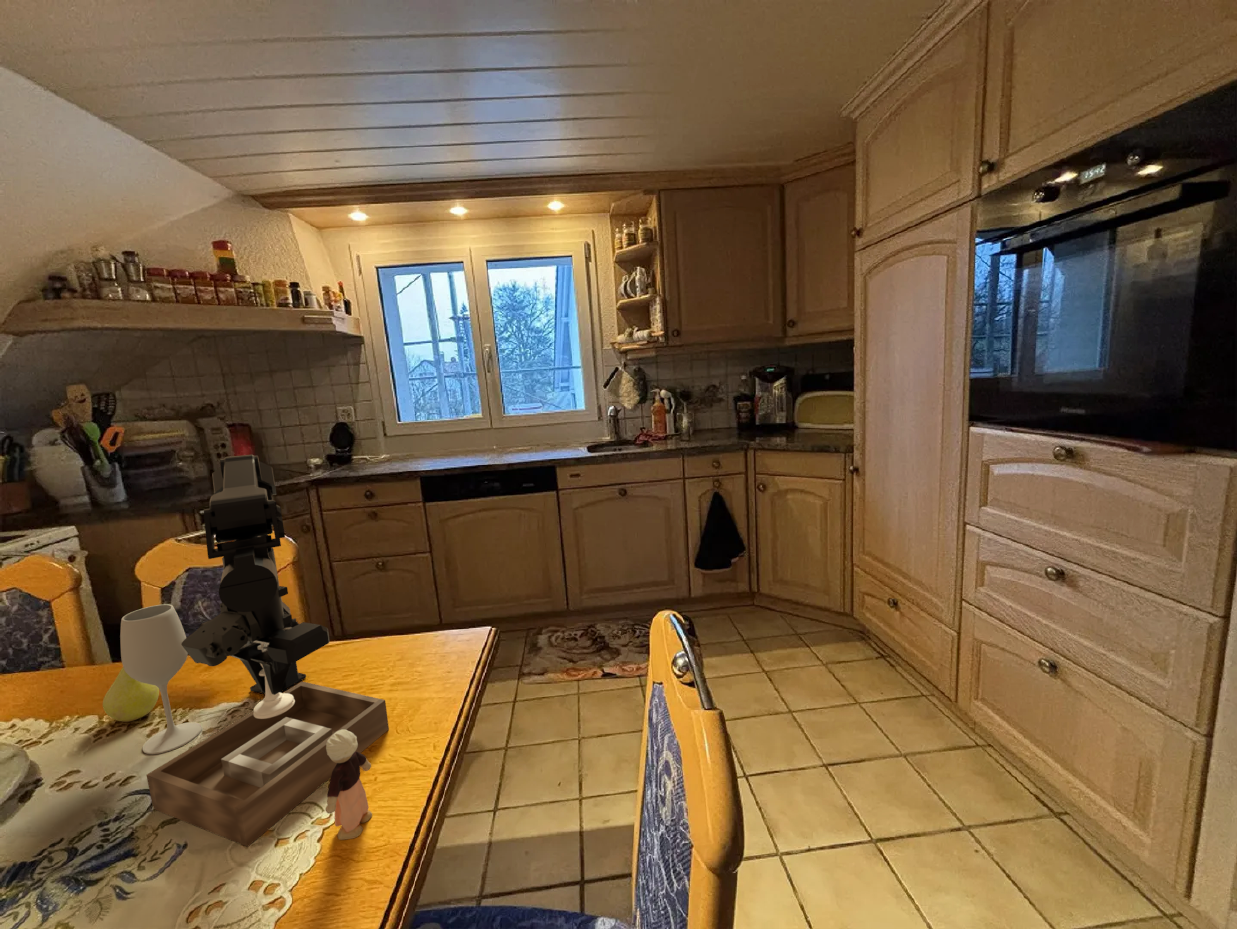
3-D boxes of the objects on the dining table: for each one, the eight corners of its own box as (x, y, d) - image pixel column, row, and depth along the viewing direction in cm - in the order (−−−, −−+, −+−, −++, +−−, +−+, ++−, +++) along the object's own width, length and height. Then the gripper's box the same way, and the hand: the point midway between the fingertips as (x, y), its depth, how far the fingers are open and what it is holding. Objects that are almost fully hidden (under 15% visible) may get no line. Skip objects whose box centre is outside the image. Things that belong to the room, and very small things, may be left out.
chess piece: (274, 720, 71) (262, 651, 69) (244, 717, 72) (231, 650, 70) (303, 698, 76) (292, 634, 74) (274, 696, 77) (263, 632, 75)
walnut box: (153, 809, 68) (146, 774, 67) (306, 708, 88) (301, 681, 88) (247, 846, 62) (240, 809, 61) (388, 729, 82) (385, 700, 81)
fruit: (99, 725, 87) (83, 658, 85) (152, 699, 94) (138, 636, 92) (123, 733, 84) (108, 664, 82) (176, 705, 91) (163, 641, 89)
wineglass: (151, 761, 77) (123, 628, 74) (133, 744, 81) (106, 617, 78) (212, 731, 84) (188, 607, 80) (192, 717, 88) (169, 598, 84)
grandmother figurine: (350, 804, 67) (336, 715, 65) (380, 801, 68) (368, 712, 66) (321, 858, 60) (305, 758, 58) (356, 854, 60) (341, 755, 58)
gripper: (140, 603, 67) (163, 714, 69) (240, 620, 60) (261, 742, 63) (230, 572, 77) (247, 670, 80) (324, 584, 71) (339, 690, 73)
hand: (271, 691), depth 73 cm, fingers closed on chess piece
